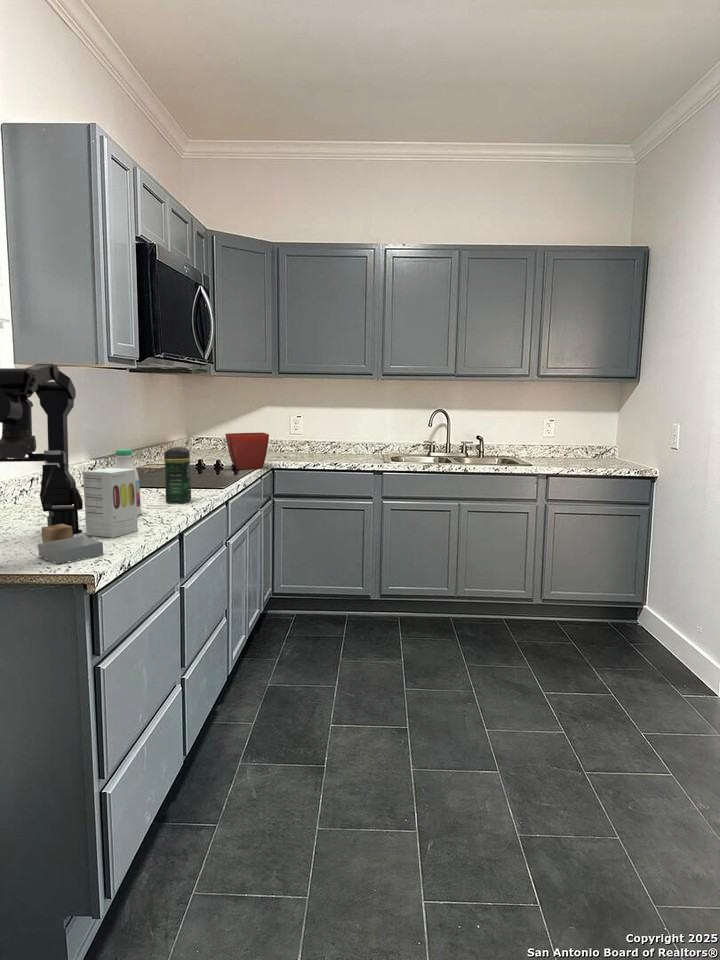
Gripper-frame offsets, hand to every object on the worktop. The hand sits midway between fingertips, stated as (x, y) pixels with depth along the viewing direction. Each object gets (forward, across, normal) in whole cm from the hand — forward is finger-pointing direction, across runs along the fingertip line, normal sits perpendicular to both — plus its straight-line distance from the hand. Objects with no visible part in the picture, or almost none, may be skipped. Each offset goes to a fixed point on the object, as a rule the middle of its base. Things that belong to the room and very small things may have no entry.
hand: (19, 497), depth 137 cm
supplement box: (+11, +18, +23) cm, 31 cm away
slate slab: (+14, +10, +1) cm, 17 cm away
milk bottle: (+8, +22, +47) cm, 52 cm away
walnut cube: (+13, +6, +12) cm, 18 cm away
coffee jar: (+5, +38, +67) cm, 77 cm away
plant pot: (-7, +76, +154) cm, 172 cm away
